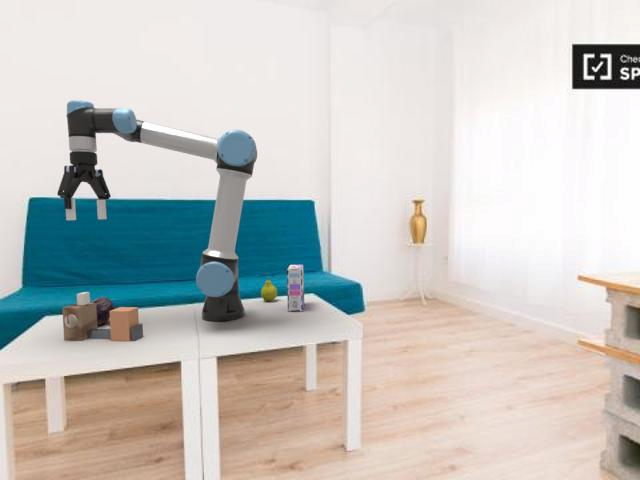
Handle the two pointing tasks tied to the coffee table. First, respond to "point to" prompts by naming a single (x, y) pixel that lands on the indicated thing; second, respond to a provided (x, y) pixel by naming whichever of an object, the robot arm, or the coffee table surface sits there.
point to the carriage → (123, 322)
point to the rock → (103, 309)
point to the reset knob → (83, 298)
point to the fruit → (268, 291)
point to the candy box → (295, 287)
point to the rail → (106, 333)
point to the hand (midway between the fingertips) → (87, 219)
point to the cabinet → (79, 320)
